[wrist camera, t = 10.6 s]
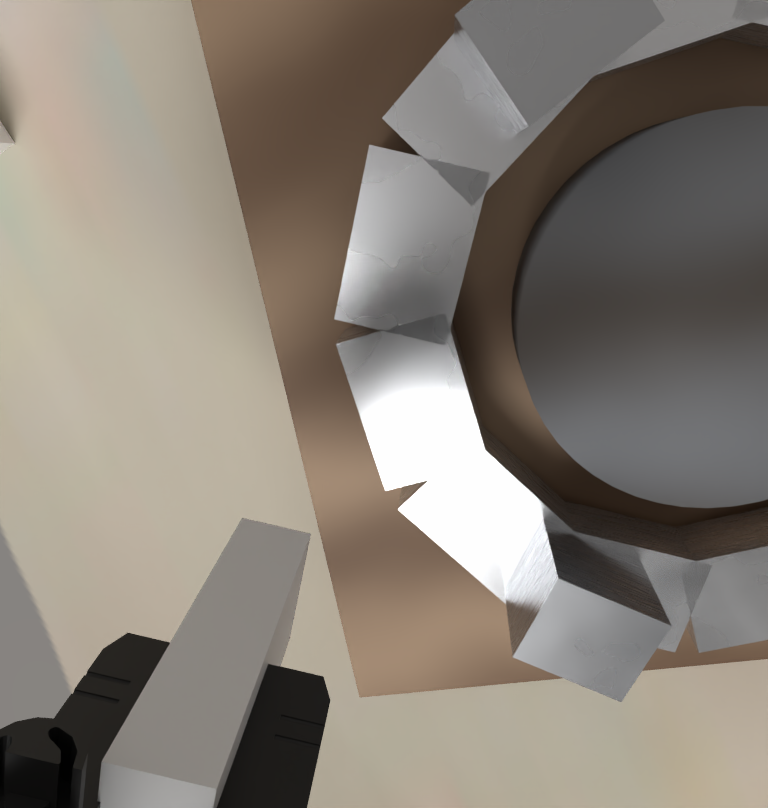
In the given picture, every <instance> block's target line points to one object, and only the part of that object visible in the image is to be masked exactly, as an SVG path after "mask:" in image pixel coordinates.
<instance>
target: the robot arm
mask: <svg viewBox="0 0 768 808" xmlns="http://www.w3.org/2000/svg"><path fill="white" fill-rule="evenodd" d="M310 535H311V534H310V533H305V532H301V531H297V530H292V529H288V528H284V527H279V526H275V525H271V524H267V523H262V522H258V521H254V520H249V519H245V518H242V519H241V521H240V523H239V524H238V526H237V528H236V530H235V531H234V533H233V535H232V537H231V538H230V540H229V542H228V544H227V545H226V547H225V549H224V550H223V552H222V554H221V556H220V557H219V559H218V561H217V563H216V564H215V566H214V568H213V570H212V571H211V573H210V575H209V576H208V578H207V580H206V582H205V583H204V585H203V587H202V589H201V590H200V592H199V594H198V595H197V597H196V599H195V601H194V602H193V604H192V606H191V608H190V609H189V611H188V613H187V615H186V616H185V618H184V620H183V621H182V623H181V625H180V627H179V628H178V630H177V632H176V634H175V635H174V637H173V639H172V640H171V642H170V643H169V642H165V641H161V640H156V639H152V638H148V637H144V636H139V635H135V634H131V633H127V634H125V635H124V636H122V637H121V638H119V639H118V640H116V641H115V642H113V643H112V644H110V645H108V646H107V647H105V648H104V649H103V650H102V651H101V653H100V654H99V655H98V657H97V658H96V660H95V661H94V663H93V664H92V665H91V667H90V668H89V670H88V671H87V674H86V676H85V675H84V677H83V678H82V679H81V681H80V682H79V684H78V685H77V687H76V688H75V690H74V693H73V694H71V695H70V696H69V698H68V699H67V701H66V702H65V703H64V705H63V706H62V708H61V709H60V711H59V712H58V713H57V715H56V716H55V718H54V719H52V718H39V717H37V718H32V719H27V720H22V721H17V722H14V723H12V724H10V725H8V726H6V727H4V728H2V729H0V808H307V804H308V800H309V795H310V791H311V786H312V782H313V777H314V772H315V768H316V763H317V759H318V754H319V749H320V745H321V740H322V736H323V731H324V727H325V722H326V717H327V713H328V708H329V704H330V698H329V695H328V691H327V688H326V684H325V681H324V677H323V676H318V675H314V674H310V673H305V672H301V671H297V670H293V669H288V668H284V667H280V666H281V663H282V660H283V657H284V654H285V651H286V648H287V645H288V641H289V638H290V634H291V629H292V624H293V619H294V614H295V609H296V604H297V599H298V594H299V589H300V584H301V580H302V575H303V570H304V565H305V560H306V555H307V550H308V545H309V540H310Z"/></svg>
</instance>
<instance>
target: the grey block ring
mask: <svg viewBox="0 0 768 808" xmlns="http://www.w3.org/2000/svg"><path fill="white" fill-rule="evenodd" d="M719 38H723V39H727V40H731V41H736V42H740V43H744V44H749V45H753V46H758V47H762V48H766V49H768V0H471V1H470V2H469V3H468V4H467V5H466V6H464V7H463V8H462V9H461V10H460V11H459V12H457V13H456V14H455V19H454V34H453V35H452V36H451V37H450V38H449V40H448V41H447V42H446V43H445V44H444V45H443V47H442V48H441V49H440V50H439V51H438V53H437V54H436V55H435V56H434V57H433V58H432V60H431V61H430V62H429V63H428V64H427V66H426V67H425V68H424V69H423V70H422V71H421V73H420V74H419V75H418V76H417V77H416V79H415V80H414V81H413V82H412V83H411V84H410V86H409V87H408V88H407V89H406V90H405V92H404V93H403V94H402V95H401V96H400V98H399V99H398V100H397V101H396V102H395V103H394V105H393V106H392V107H391V108H390V109H389V111H388V112H387V113H386V114H385V115H384V116H383V118H382V119H383V120H384V121H385V122H386V123H387V124H388V125H389V126H391V127H392V128H393V129H394V130H395V131H396V132H397V133H398V134H399V135H400V136H401V137H402V138H403V139H404V140H405V141H406V142H407V143H408V144H409V145H410V146H411V147H412V148H413V149H414V150H415V151H416V152H417V153H418V154H419V155H420V156H421V157H420V156H416V155H412V154H407V153H403V152H399V151H395V150H390V149H386V148H382V147H378V146H373V145H369V149H368V154H367V159H366V164H365V169H364V174H363V179H362V183H361V188H360V193H359V198H358V203H357V208H356V213H355V218H354V223H353V228H352V233H351V238H350V243H349V248H348V253H347V258H346V263H345V268H344V273H343V278H342V283H341V288H340V293H339V297H338V302H337V307H336V312H335V317H334V319H335V320H340V321H344V322H348V323H352V324H356V326H352V327H349V328H346V330H345V331H344V333H343V334H342V336H341V337H340V339H339V340H338V341H337V343H336V346H337V349H338V352H339V355H340V358H341V361H342V364H343V367H344V370H345V373H346V376H347V379H348V382H349V385H350V388H351V391H352V394H353V397H354V400H355V403H356V405H357V408H358V411H359V414H360V417H361V420H362V423H363V426H364V429H365V432H366V435H367V438H368V441H369V444H370V447H371V450H372V453H373V456H374V459H375V462H376V465H377V468H378V471H379V473H380V476H381V479H382V482H383V485H384V488H385V491H387V490H391V489H395V488H399V487H402V488H401V494H400V500H399V506H398V510H399V511H400V512H401V513H403V514H404V515H405V516H406V517H407V518H408V519H409V520H411V521H412V522H413V523H414V524H415V525H416V526H417V527H418V528H420V529H421V530H422V531H423V532H424V533H425V534H426V535H428V536H429V537H430V538H431V539H432V540H433V541H434V542H436V543H437V544H438V545H439V546H440V547H441V548H442V549H444V550H445V551H446V552H447V553H448V554H449V555H450V556H451V557H453V558H454V559H455V560H456V561H457V562H458V563H459V564H461V565H462V566H463V567H464V568H465V569H466V570H467V571H469V572H470V573H471V574H472V575H473V576H474V577H475V578H477V579H478V580H479V581H480V582H481V583H482V584H483V585H485V586H486V587H487V588H488V589H489V590H490V591H491V592H492V593H494V594H495V595H496V596H497V597H498V598H499V599H500V600H502V601H503V602H504V603H505V604H506V607H507V616H508V624H509V632H510V640H511V649H512V657H513V658H516V659H518V660H521V661H523V662H525V663H528V664H530V665H533V666H535V667H537V668H540V669H542V670H545V671H547V672H550V673H552V674H554V675H557V676H559V677H562V678H564V679H567V680H569V681H571V682H574V683H576V684H579V685H581V686H583V687H586V688H588V689H591V690H593V691H596V692H598V693H600V694H603V695H605V696H608V697H610V698H613V699H615V700H617V701H620V702H622V700H623V699H624V697H625V696H626V694H627V693H628V691H629V690H630V688H631V687H632V685H633V684H634V682H635V681H636V679H637V678H638V676H639V675H640V673H641V672H642V670H643V669H644V667H645V666H646V664H647V663H648V661H649V660H650V658H651V657H652V655H653V654H654V652H655V651H656V649H657V648H659V649H663V650H667V651H671V652H675V651H676V649H677V647H678V644H679V642H680V640H681V637H682V635H683V633H684V630H685V628H686V629H687V631H688V633H689V635H690V637H691V639H692V641H693V643H694V644H695V646H696V648H697V650H698V652H699V653H701V652H707V651H712V650H717V649H722V648H727V647H733V646H738V645H743V644H748V643H754V642H759V641H764V640H768V507H764V508H760V509H755V510H751V511H746V512H742V513H737V514H733V515H728V516H724V517H719V518H715V519H710V520H706V521H701V522H697V523H692V524H688V525H683V526H679V527H672V526H668V525H664V524H660V523H656V522H652V521H647V520H643V519H639V518H635V517H631V516H627V515H623V514H619V513H614V512H610V511H606V510H602V509H598V508H594V507H590V506H586V505H581V504H577V503H573V502H569V501H565V500H563V499H562V498H561V497H560V496H559V495H558V494H556V493H555V492H554V491H553V490H552V489H551V488H550V487H549V486H548V485H547V484H546V483H545V482H543V481H542V480H541V479H540V478H539V477H538V476H537V475H536V474H535V473H534V472H533V471H532V470H530V469H529V468H528V467H527V466H526V465H525V464H524V463H523V462H522V461H521V460H520V459H519V458H517V457H516V456H515V455H514V454H513V453H512V452H511V451H510V450H509V449H508V448H507V447H506V446H504V445H503V444H502V443H501V442H500V441H499V440H498V439H497V438H496V437H495V436H494V435H493V434H491V433H490V432H489V431H488V430H487V429H486V428H485V427H484V426H483V425H482V422H481V419H480V415H479V412H478V408H477V405H476V401H475V398H474V394H473V391H472V387H471V384H470V381H469V377H468V374H467V370H466V367H465V363H464V360H463V356H462V353H461V349H460V346H459V342H458V339H457V335H456V332H455V328H454V325H453V322H452V320H453V316H454V312H455V308H456V304H457V300H458V296H459V292H460V289H461V285H462V281H463V277H464V273H465V269H466V265H467V261H468V257H469V254H470V250H471V246H472V242H473V238H474V234H475V230H476V226H477V223H478V219H479V215H480V211H481V207H482V203H483V199H484V195H485V192H486V191H487V190H488V189H489V188H490V187H491V186H492V185H493V183H494V182H495V181H496V180H497V179H498V178H499V177H500V176H501V175H502V174H503V173H504V172H505V171H506V170H507V168H508V167H509V166H510V165H511V164H512V163H513V162H514V161H515V160H516V159H517V158H518V157H519V156H520V154H521V153H522V152H523V151H524V150H525V149H526V148H527V147H528V146H529V145H530V144H531V143H532V142H533V141H534V139H535V138H536V137H537V136H538V135H539V134H540V133H541V132H542V131H543V130H544V129H545V128H546V127H547V126H548V124H549V123H550V122H551V121H552V120H553V119H554V118H555V117H556V116H557V115H558V114H559V113H560V112H561V110H562V109H563V108H564V107H565V106H566V105H567V104H568V103H569V102H570V101H571V100H572V99H573V98H574V97H575V95H576V94H577V93H578V92H579V91H580V90H581V89H582V88H583V87H584V86H585V85H586V84H587V83H588V82H591V81H594V80H597V79H600V78H603V77H606V76H609V75H612V74H615V73H618V72H621V71H624V70H627V69H630V68H633V67H636V66H638V65H641V64H644V63H647V62H650V61H653V60H656V59H659V58H662V57H665V56H668V55H671V54H674V53H677V52H680V51H683V50H686V49H689V48H692V47H695V46H698V45H701V44H704V43H707V42H710V41H713V40H716V39H719Z"/></svg>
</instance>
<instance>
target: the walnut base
mask: <svg viewBox="0 0 768 808" xmlns="http://www.w3.org/2000/svg"><path fill="white" fill-rule="evenodd" d="M470 1H471V0H191V2H192V6H193V10H194V14H195V18H196V22H197V26H198V31H199V35H200V39H201V43H202V47H203V51H204V55H205V60H206V64H207V68H208V72H209V76H210V80H211V84H212V88H213V93H214V97H215V101H216V105H217V109H218V113H219V117H220V122H221V126H222V130H223V134H224V138H225V142H226V146H227V151H228V155H229V159H230V163H231V167H232V171H233V175H234V179H235V184H236V188H237V192H238V196H239V200H240V204H241V208H242V213H243V217H244V221H245V225H246V229H247V233H248V237H249V242H250V246H251V250H252V254H253V258H254V262H255V266H256V270H257V275H258V279H259V283H260V287H261V291H262V295H263V299H264V304H265V308H266V312H267V316H268V320H269V324H270V328H271V333H272V337H273V341H274V345H275V349H276V353H277V357H278V362H279V366H280V370H281V374H282V378H283V382H284V386H285V390H286V395H287V399H288V403H289V407H290V411H291V415H292V419H293V424H294V428H295V432H296V436H297V440H298V444H299V448H300V453H301V457H302V461H303V465H304V469H305V473H306V477H307V481H308V486H309V490H310V494H311V498H312V502H313V506H314V510H315V515H316V519H317V523H318V527H319V531H320V535H321V539H322V544H323V548H324V552H325V556H326V560H327V564H328V568H329V572H330V577H331V581H332V585H333V589H334V593H335V597H336V601H337V606H338V610H339V614H340V618H341V622H342V626H343V630H344V635H345V639H346V643H347V647H348V651H349V655H350V659H351V664H352V668H353V672H354V676H355V680H356V684H357V688H358V692H359V697H370V696H380V695H391V694H401V693H412V692H422V691H433V690H444V689H454V688H465V687H475V686H486V685H496V684H507V683H517V682H528V681H539V680H549V679H560V678H562V677H559V676H557V675H554V674H552V673H550V672H547V671H545V670H542V669H540V668H537V667H535V666H533V665H530V664H528V663H525V662H523V661H521V660H518V659H516V658H513V657H512V649H511V640H510V632H509V624H508V616H507V607H506V604H505V603H504V602H503V601H502V600H500V599H499V598H498V597H497V596H496V595H495V594H494V593H492V592H491V591H490V590H489V589H488V588H487V587H486V586H485V585H483V584H482V583H481V582H480V581H479V580H478V579H477V578H475V577H474V576H473V575H472V574H471V573H470V572H469V571H467V570H466V569H465V568H464V567H463V566H462V565H461V564H459V563H458V562H457V561H456V560H455V559H454V558H453V557H451V556H450V555H449V554H448V553H447V552H446V551H445V550H444V549H442V548H441V547H440V546H439V545H438V544H437V543H436V542H434V541H433V540H432V539H431V538H430V537H429V536H428V535H426V534H425V533H424V532H423V531H422V530H421V529H420V528H418V527H417V526H416V525H415V524H414V523H413V522H412V521H411V520H409V519H408V518H407V517H406V516H405V515H404V514H403V513H401V512H400V511H399V510H398V506H399V500H400V494H401V488H402V487H399V488H395V489H391V490H387V491H385V488H384V485H383V482H382V479H381V476H380V473H379V471H378V468H377V465H376V462H375V459H374V456H373V453H372V450H371V447H370V444H369V441H368V438H367V435H366V432H365V429H364V426H363V423H362V420H361V417H360V414H359V411H358V408H357V405H356V403H355V400H354V397H353V394H352V391H351V388H350V385H349V382H348V379H347V376H346V373H345V370H344V367H343V364H342V361H341V358H340V355H339V352H338V349H337V346H336V343H337V341H338V340H339V339H340V337H341V336H342V334H343V333H344V331H345V330H346V328H349V327H352V326H356V324H352V323H348V322H344V321H340V320H335V319H334V317H335V312H336V307H337V302H338V297H339V293H340V288H341V283H342V278H343V273H344V268H345V263H346V258H347V253H348V248H349V243H350V238H351V233H352V228H353V223H354V218H355V213H356V208H357V203H358V198H359V193H360V188H361V183H362V179H363V174H364V169H365V164H366V159H367V154H368V149H369V145H373V146H378V147H382V148H386V149H390V150H395V151H399V152H403V153H407V154H412V155H416V156H420V155H419V154H418V153H417V152H416V151H415V150H414V149H413V148H412V147H411V146H410V145H409V144H408V143H407V142H406V141H405V140H404V139H403V138H402V137H401V136H400V135H399V134H398V133H397V132H396V131H395V130H394V129H393V128H392V127H391V126H389V125H388V124H387V123H386V122H385V121H384V120H383V119H382V118H383V116H384V115H385V114H386V113H387V112H388V111H389V109H390V108H391V107H392V106H393V105H394V103H395V102H396V101H397V100H398V99H399V98H400V96H401V95H402V94H403V93H404V92H405V90H406V89H407V88H408V87H409V86H410V84H411V83H412V82H413V81H414V80H415V79H416V77H417V76H418V75H419V74H420V73H421V71H422V70H423V69H424V68H425V67H426V66H427V64H428V63H429V62H430V61H431V60H432V58H433V57H434V56H435V55H436V54H437V53H438V51H439V50H440V49H441V48H442V47H443V45H444V44H445V43H446V42H447V41H448V40H449V38H450V37H451V36H452V35H453V34H454V19H455V14H456V13H457V12H459V11H460V10H461V9H462V8H463V7H464V6H466V5H467V4H468V3H469V2H470ZM420 157H421V156H420ZM452 322H453V325H454V328H455V332H456V335H457V339H458V342H459V346H460V349H461V353H462V356H463V360H464V363H465V367H466V370H467V374H468V377H469V381H470V384H471V387H472V391H473V394H474V398H475V401H476V405H477V408H478V412H479V415H480V419H481V422H482V425H483V426H484V427H485V428H486V429H487V430H488V431H489V432H490V433H491V434H493V435H494V436H495V437H496V438H497V439H498V440H499V441H500V442H501V443H502V444H503V445H504V446H506V447H507V448H508V449H509V450H510V451H511V452H512V453H513V454H514V455H515V456H516V457H517V458H519V459H520V460H521V461H522V462H523V463H524V464H525V465H526V466H527V467H528V468H529V469H530V470H532V471H533V472H534V473H535V474H536V475H537V476H538V477H539V478H540V479H541V480H542V481H543V482H545V483H546V484H547V485H548V486H549V487H550V488H551V489H552V490H553V491H554V492H555V493H556V494H558V495H559V496H560V497H561V498H562V499H563V500H565V501H569V502H573V503H577V504H581V505H586V506H590V507H594V508H598V509H602V510H606V511H610V512H614V513H619V514H623V515H627V516H631V517H635V518H639V519H643V520H647V521H652V522H656V523H660V524H664V525H668V526H672V527H679V526H683V525H688V524H692V523H697V522H701V521H706V520H710V519H715V518H719V517H724V516H728V515H733V514H737V513H742V512H746V511H751V510H755V509H760V508H764V507H768V49H766V48H762V47H758V46H753V45H749V44H744V43H740V42H736V41H731V40H727V39H723V38H719V39H716V40H713V41H710V42H707V43H704V44H701V45H698V46H695V47H692V48H689V49H686V50H683V51H680V52H677V53H674V54H671V55H668V56H665V57H662V58H659V59H656V60H653V61H650V62H647V63H644V64H641V65H638V66H636V67H633V68H630V69H627V70H624V71H621V72H618V73H615V74H612V75H609V76H606V77H603V78H600V79H597V80H594V81H591V82H588V83H587V84H586V85H585V86H584V87H583V88H582V89H581V90H580V91H579V92H578V93H577V94H576V95H575V97H574V98H573V99H572V100H571V101H570V102H569V103H568V104H567V105H566V106H565V107H564V108H563V109H562V110H561V112H560V113H559V114H558V115H557V116H556V117H555V118H554V119H553V120H552V121H551V122H550V123H549V124H548V126H547V127H546V128H545V129H544V130H543V131H542V132H541V133H540V134H539V135H538V136H537V137H536V138H535V139H534V141H533V142H532V143H531V144H530V145H529V146H528V147H527V148H526V149H525V150H524V151H523V152H522V153H521V154H520V156H519V157H518V158H517V159H516V160H515V161H514V162H513V163H512V164H511V165H510V166H509V167H508V168H507V170H506V171H505V172H504V173H503V174H502V175H501V176H500V177H499V178H498V179H497V180H496V181H495V182H494V183H493V185H492V186H491V187H490V188H489V189H488V190H487V191H486V192H485V195H484V199H483V203H482V207H481V211H480V215H479V219H478V223H477V226H476V230H475V234H474V238H473V242H472V246H471V250H470V254H469V257H468V261H467V265H466V269H465V273H464V277H463V281H462V285H461V289H460V292H459V296H458V300H457V304H456V308H455V312H454V316H453V320H452ZM760 659H768V640H764V641H759V642H754V643H748V644H743V645H738V646H733V647H727V648H722V649H717V650H712V651H707V652H701V653H699V652H698V650H697V648H696V646H695V644H694V643H693V641H692V639H691V637H690V635H689V633H688V631H687V629H686V628H685V630H684V633H683V635H682V637H681V640H680V642H679V644H678V647H677V649H676V651H675V652H671V651H667V650H663V649H659V648H657V649H656V651H655V652H654V654H653V655H652V657H651V658H650V660H649V661H648V663H647V664H646V666H645V667H644V669H643V670H642V671H644V670H655V669H665V668H676V667H686V666H697V665H708V664H718V663H729V662H739V661H750V660H760Z"/></svg>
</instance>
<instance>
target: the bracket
mask: <svg viewBox="0 0 768 808" xmlns="http://www.w3.org/2000/svg"><path fill="white" fill-rule="evenodd" d="M14 144H15V143H14V141H13V139H12V138H11V136H10V135H9V133H8V132H7V130H6V129H5V127H4V126H3V124H2V123H1V121H0V154H1V153H2V152H4V151H5V150H7V149H8V148H10V147H11V146H12V145H14Z"/></svg>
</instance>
